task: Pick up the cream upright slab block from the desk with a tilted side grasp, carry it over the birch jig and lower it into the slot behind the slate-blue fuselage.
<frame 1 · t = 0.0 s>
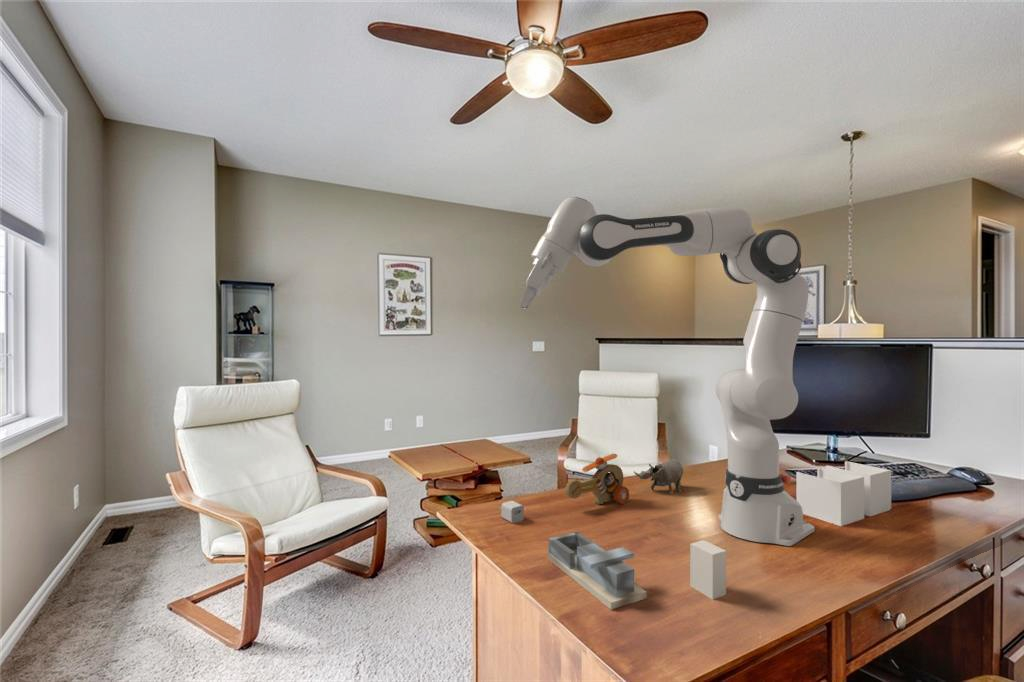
hand: (522, 307, 114), 54 cm above the table, tool tilted 30°, fingers open, 8 cm apart
storage container: (844, 512, 126), on the table
toy helicopter: (598, 504, 131), on the table
rhinoceros figurine: (663, 491, 143), on the table
cream upright slab block: (707, 590, 85), on the table
usb wall charger: (509, 518, 121), on the table
jig: (591, 575, 91), on the table
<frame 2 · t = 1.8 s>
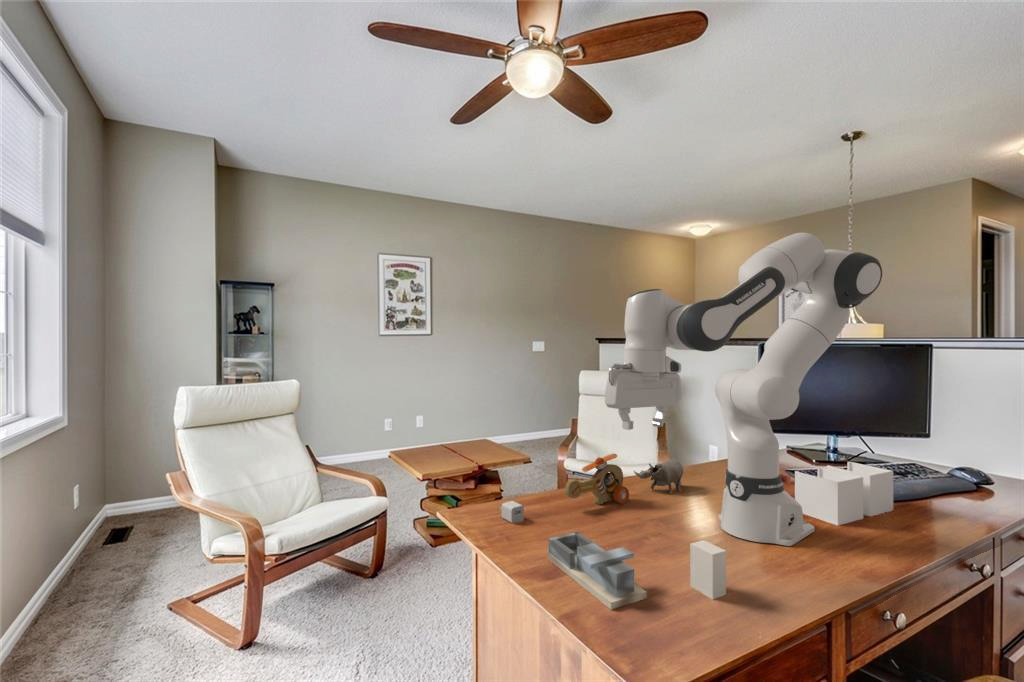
hand: (643, 427, 100), 27 cm above the table, tool pointing down, fingers open, 8 cm apart
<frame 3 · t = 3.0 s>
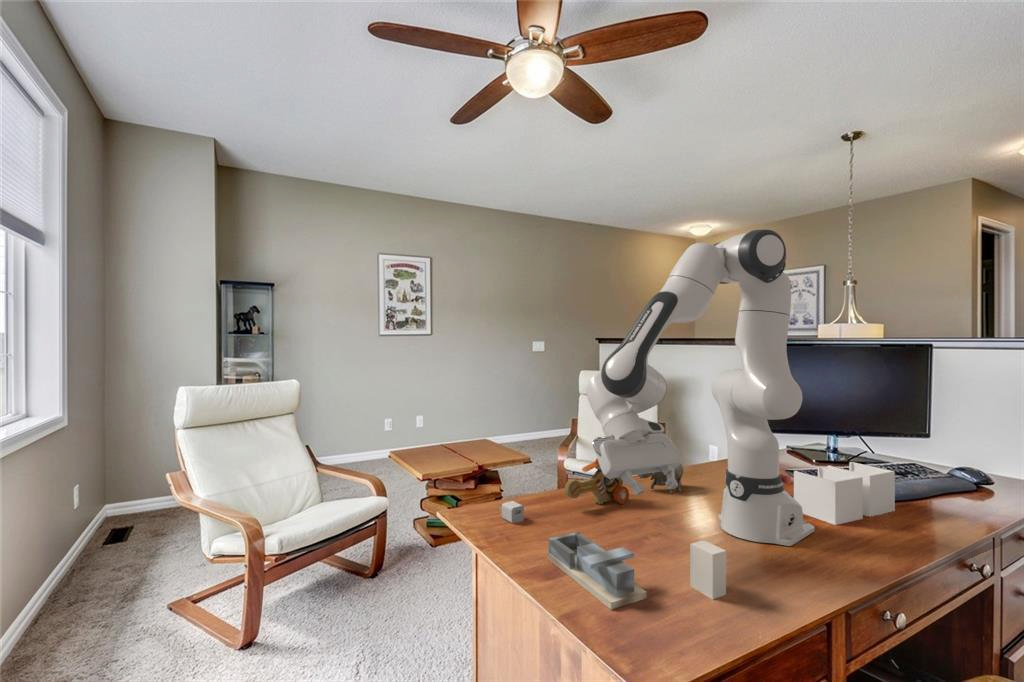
hand: (657, 490, 96), 15 cm above the table, tool tilted 45°, fingers open, 8 cm apart
nothing on the table moved.
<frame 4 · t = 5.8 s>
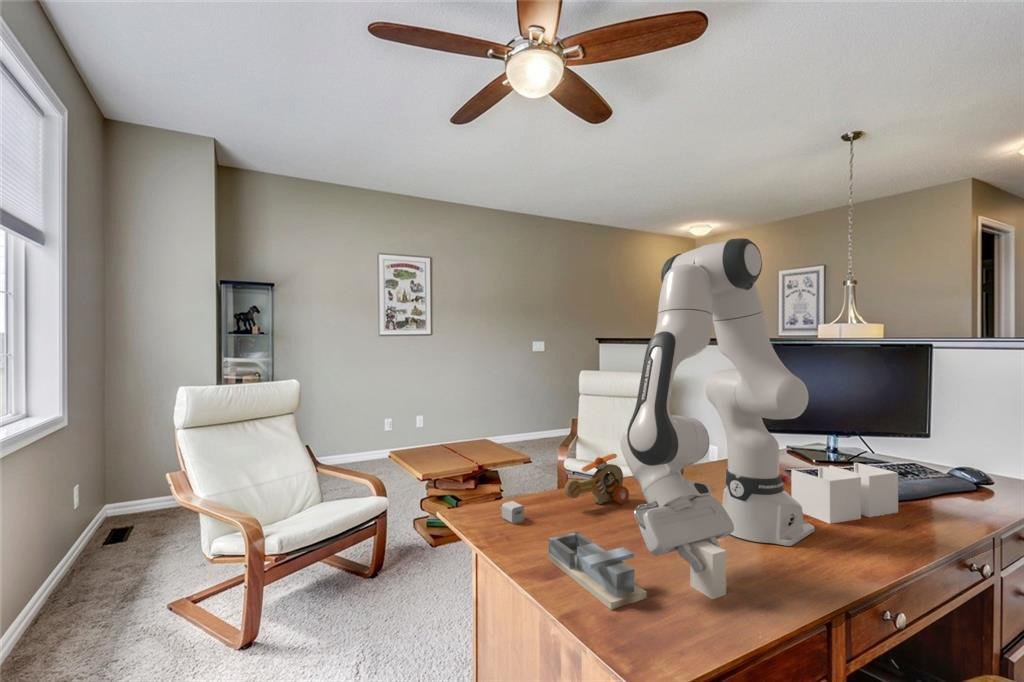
hand: (710, 568, 85), 4 cm above the table, tool tilted 45°, fingers closed on cream upright slab block, 3 cm apart
cream upright slab block: (707, 590, 85), on the table, touching gripper
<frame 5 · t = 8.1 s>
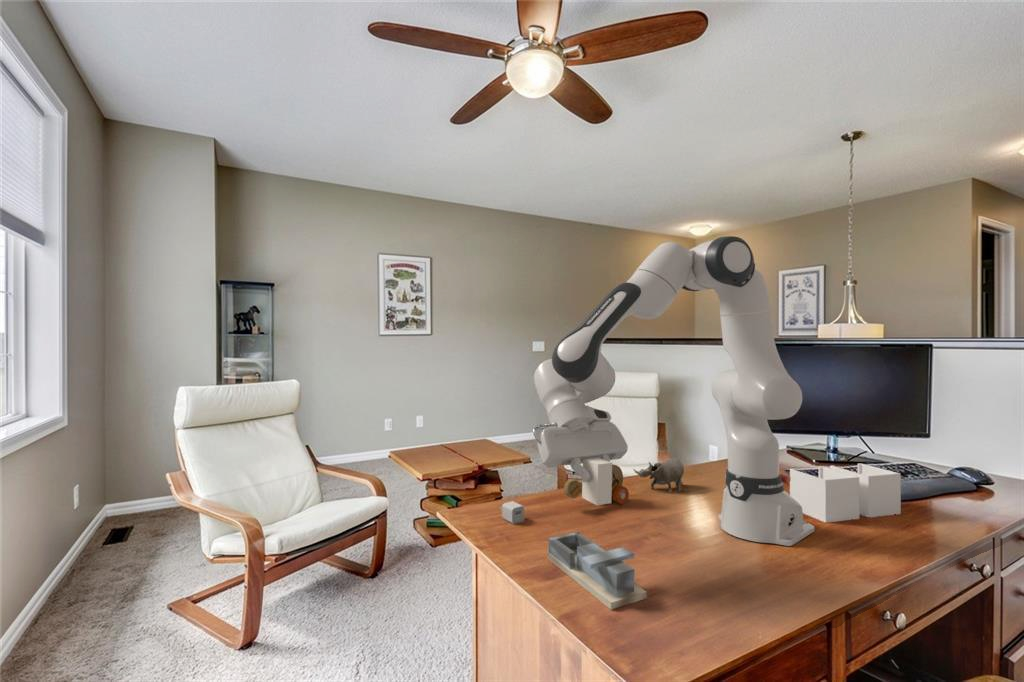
hand: (598, 479, 93), 18 cm above the table, tool tilted 45°, fingers closed on cream upright slab block, 3 cm apart
cream upright slab block: (596, 500, 93), point 14 cm above the table, touching gripper
when the fingers open (8 cm above the table, at t = 10.7 s): cream upright slab block drops 2 cm, resting on jig.
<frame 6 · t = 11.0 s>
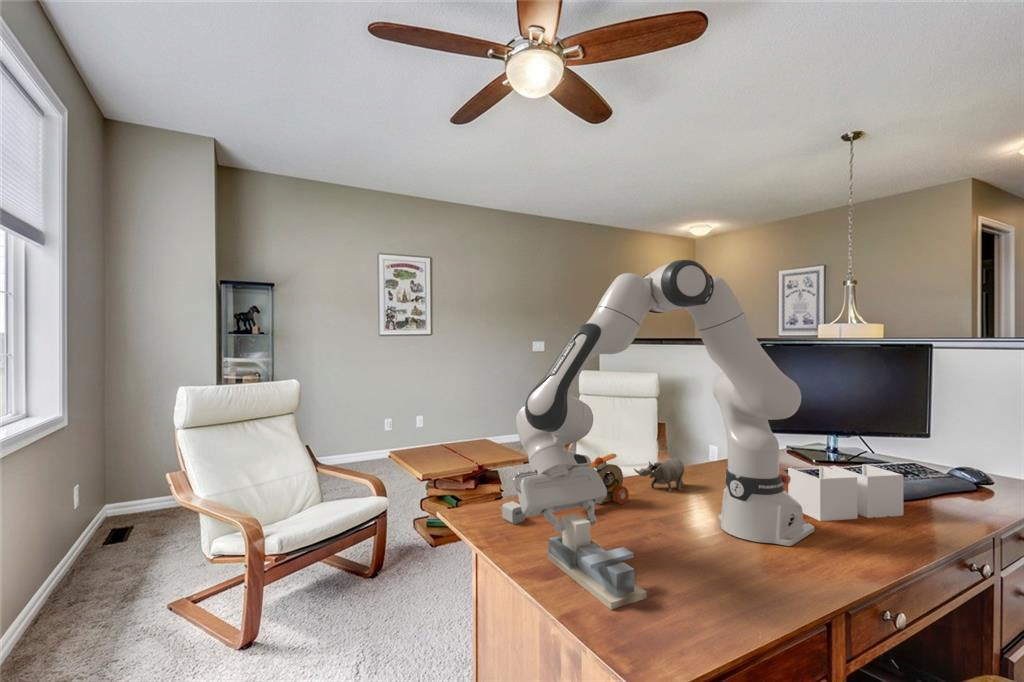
hand: (577, 527, 95), 8 cm above the table, tool tilted 45°, fingers open, 6 cm apart
cream upright slab block: (576, 557, 96), point 1 cm above the table, touching jig
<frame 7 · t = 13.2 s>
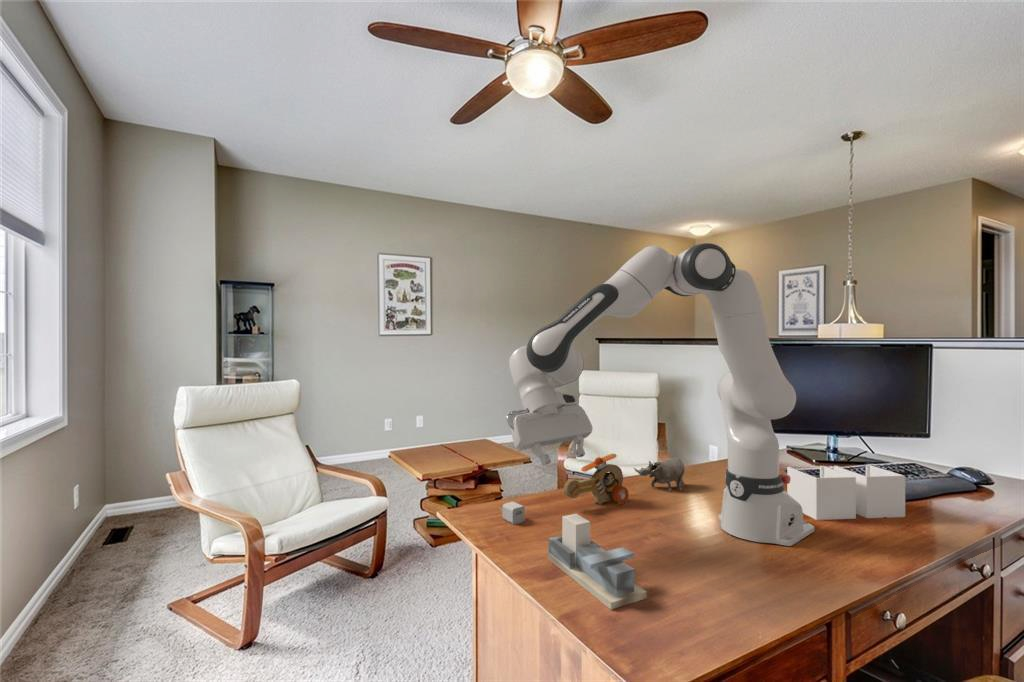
hand: (564, 459, 105), 19 cm above the table, tool tilted 35°, fingers open, 8 cm apart
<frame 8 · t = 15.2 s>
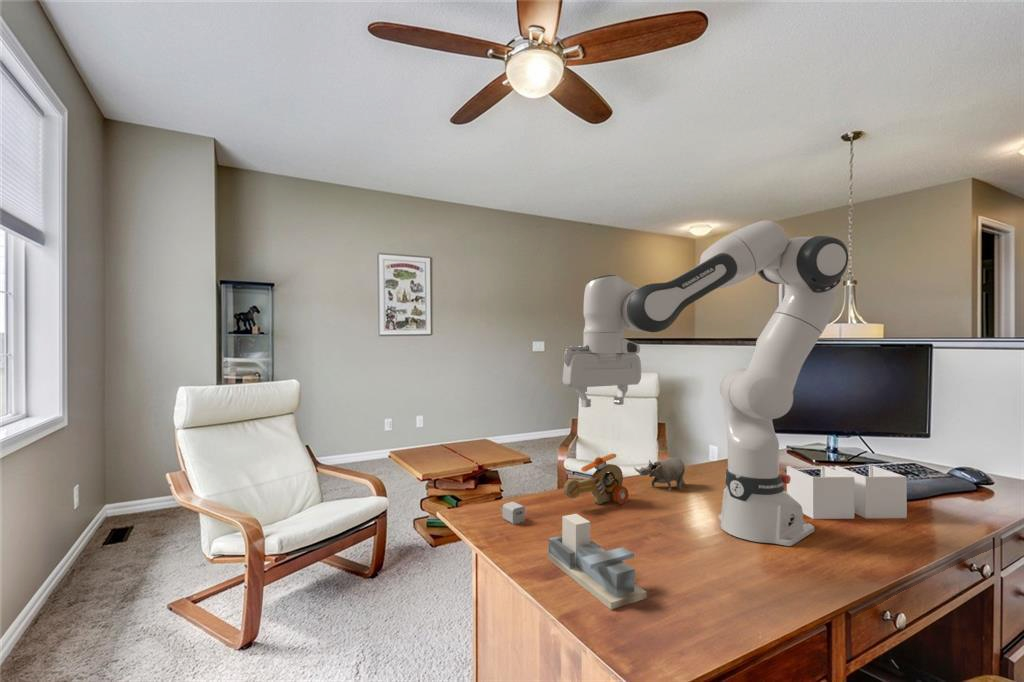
hand: (602, 405, 107), 31 cm above the table, tool pointing down, fingers open, 8 cm apart
at the end: cream upright slab block 0.1 cm from the target spot on the jig, point 1.2 cm above the jig's base; cream upright slab block tilted 0°; the gripper is holding nothing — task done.
